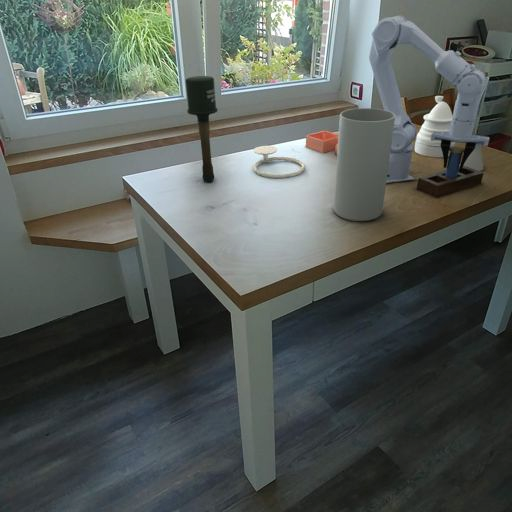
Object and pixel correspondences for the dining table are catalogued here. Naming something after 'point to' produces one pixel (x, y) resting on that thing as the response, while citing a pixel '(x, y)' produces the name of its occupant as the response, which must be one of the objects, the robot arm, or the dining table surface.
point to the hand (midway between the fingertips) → (452, 167)
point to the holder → (449, 182)
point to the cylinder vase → (362, 162)
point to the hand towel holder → (270, 150)
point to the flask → (475, 159)
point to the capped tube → (454, 161)
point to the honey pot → (434, 129)
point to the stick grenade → (202, 115)
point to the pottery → (322, 141)
